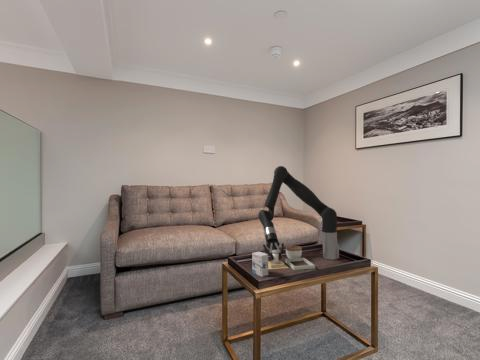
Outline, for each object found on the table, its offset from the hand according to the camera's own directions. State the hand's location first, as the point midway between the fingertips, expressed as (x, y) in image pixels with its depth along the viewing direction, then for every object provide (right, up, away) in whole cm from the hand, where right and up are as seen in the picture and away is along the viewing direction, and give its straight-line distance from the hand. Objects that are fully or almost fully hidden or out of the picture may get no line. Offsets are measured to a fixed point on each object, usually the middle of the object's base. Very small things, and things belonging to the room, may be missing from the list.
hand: (276, 259), depth 148 cm
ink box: (-11, -5, -12) cm, 16 cm away
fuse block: (0, -5, +2) cm, 5 cm away
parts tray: (+14, -4, +2) cm, 15 cm away
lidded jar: (+14, -5, +17) cm, 22 cm away
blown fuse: (0, -4, +2) cm, 4 cm away
